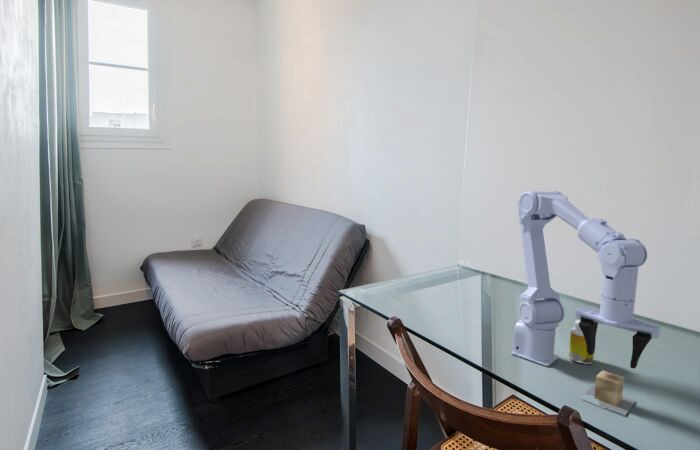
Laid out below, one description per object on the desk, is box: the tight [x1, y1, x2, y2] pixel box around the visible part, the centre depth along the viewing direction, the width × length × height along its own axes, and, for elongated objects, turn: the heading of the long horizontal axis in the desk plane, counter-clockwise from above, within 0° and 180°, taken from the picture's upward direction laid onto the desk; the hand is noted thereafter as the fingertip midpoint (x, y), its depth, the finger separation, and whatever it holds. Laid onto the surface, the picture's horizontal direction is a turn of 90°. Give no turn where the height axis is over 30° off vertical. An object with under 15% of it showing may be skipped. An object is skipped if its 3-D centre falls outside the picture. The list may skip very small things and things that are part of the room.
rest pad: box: [584, 385, 637, 417], centre depth 82 cm, size 8×8×1 cm
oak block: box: [594, 370, 625, 406], centre depth 82 cm, size 4×4×5 cm
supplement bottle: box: [568, 319, 595, 365], centre depth 100 cm, size 6×6×10 cm
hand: (611, 359), depth 81 cm, fingers open, 7 cm apart
